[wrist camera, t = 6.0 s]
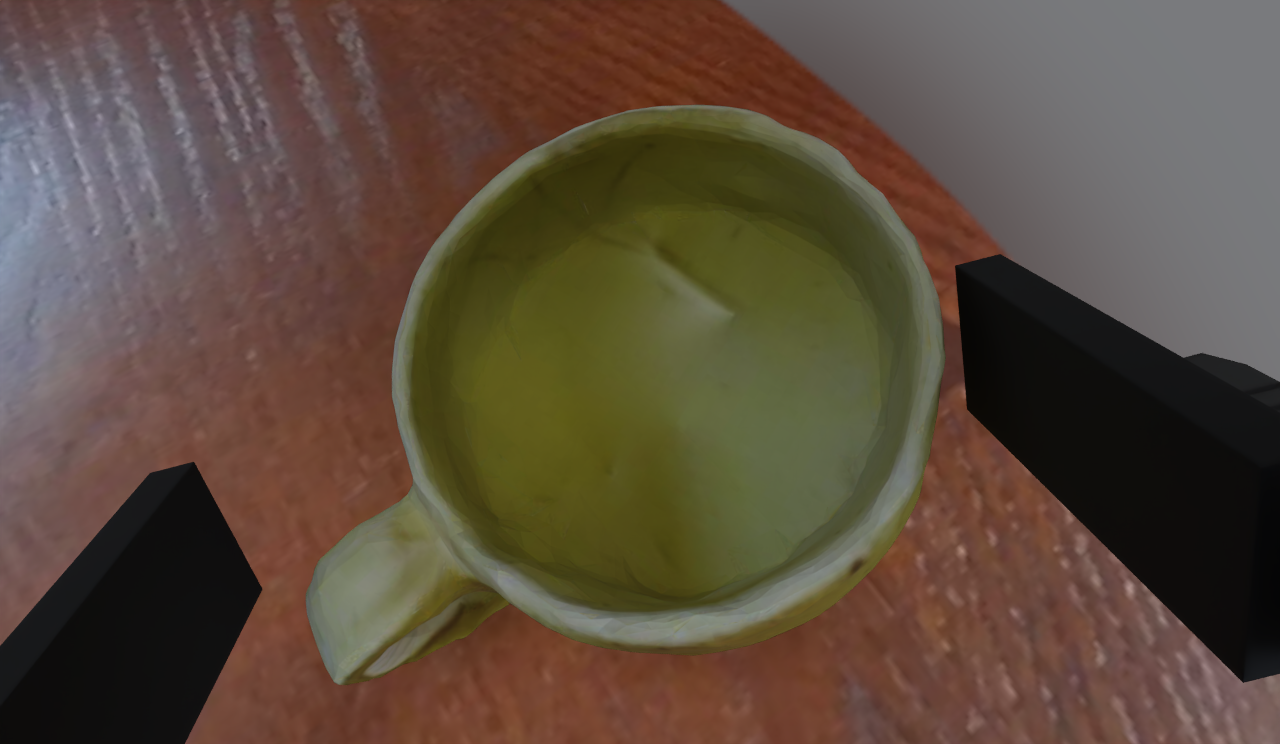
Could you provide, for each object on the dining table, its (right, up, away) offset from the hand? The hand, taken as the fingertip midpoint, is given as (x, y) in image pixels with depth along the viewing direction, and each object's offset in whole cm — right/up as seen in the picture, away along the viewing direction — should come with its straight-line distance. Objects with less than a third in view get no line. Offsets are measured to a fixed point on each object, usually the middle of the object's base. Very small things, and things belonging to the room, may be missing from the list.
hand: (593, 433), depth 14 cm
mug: (+1, -2, +7) cm, 7 cm away
